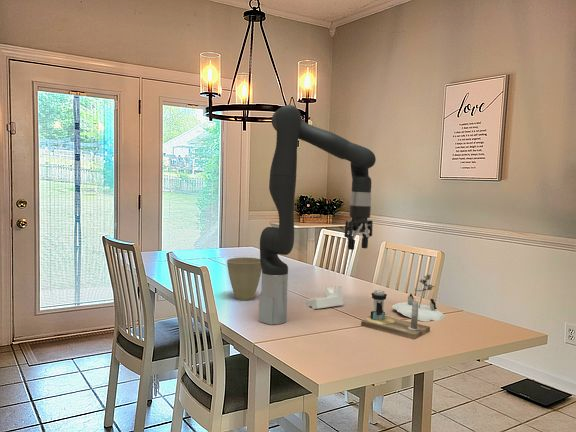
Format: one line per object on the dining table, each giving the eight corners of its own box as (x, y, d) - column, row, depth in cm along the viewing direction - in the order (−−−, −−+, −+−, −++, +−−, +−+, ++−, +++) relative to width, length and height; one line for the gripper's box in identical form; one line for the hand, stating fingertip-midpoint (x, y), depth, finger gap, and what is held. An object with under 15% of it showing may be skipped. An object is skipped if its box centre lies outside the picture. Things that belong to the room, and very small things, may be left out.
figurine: (381, 309, 194) (387, 268, 191) (409, 303, 206) (415, 265, 204) (426, 327, 179) (433, 283, 177) (452, 319, 191) (459, 278, 189)
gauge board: (413, 339, 162) (415, 307, 161) (358, 325, 176) (359, 295, 175) (429, 331, 171) (431, 301, 170) (376, 318, 185) (377, 290, 184)
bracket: (333, 305, 206) (330, 286, 207) (343, 304, 200) (341, 285, 201) (307, 308, 199) (304, 289, 200) (317, 308, 193) (314, 288, 194)
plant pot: (243, 292, 219) (244, 255, 217) (269, 298, 209) (270, 260, 208) (218, 297, 207) (219, 259, 206) (244, 304, 198) (245, 264, 196)
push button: (383, 316, 182) (384, 289, 181) (391, 320, 177) (393, 292, 176) (367, 317, 179) (368, 290, 178) (375, 321, 174) (377, 293, 173)
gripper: (357, 205, 175) (355, 251, 176) (379, 205, 185) (377, 249, 186) (340, 203, 180) (337, 248, 181) (362, 204, 190) (360, 246, 191)
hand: (357, 248), depth 183 cm, fingers open, 8 cm apart
